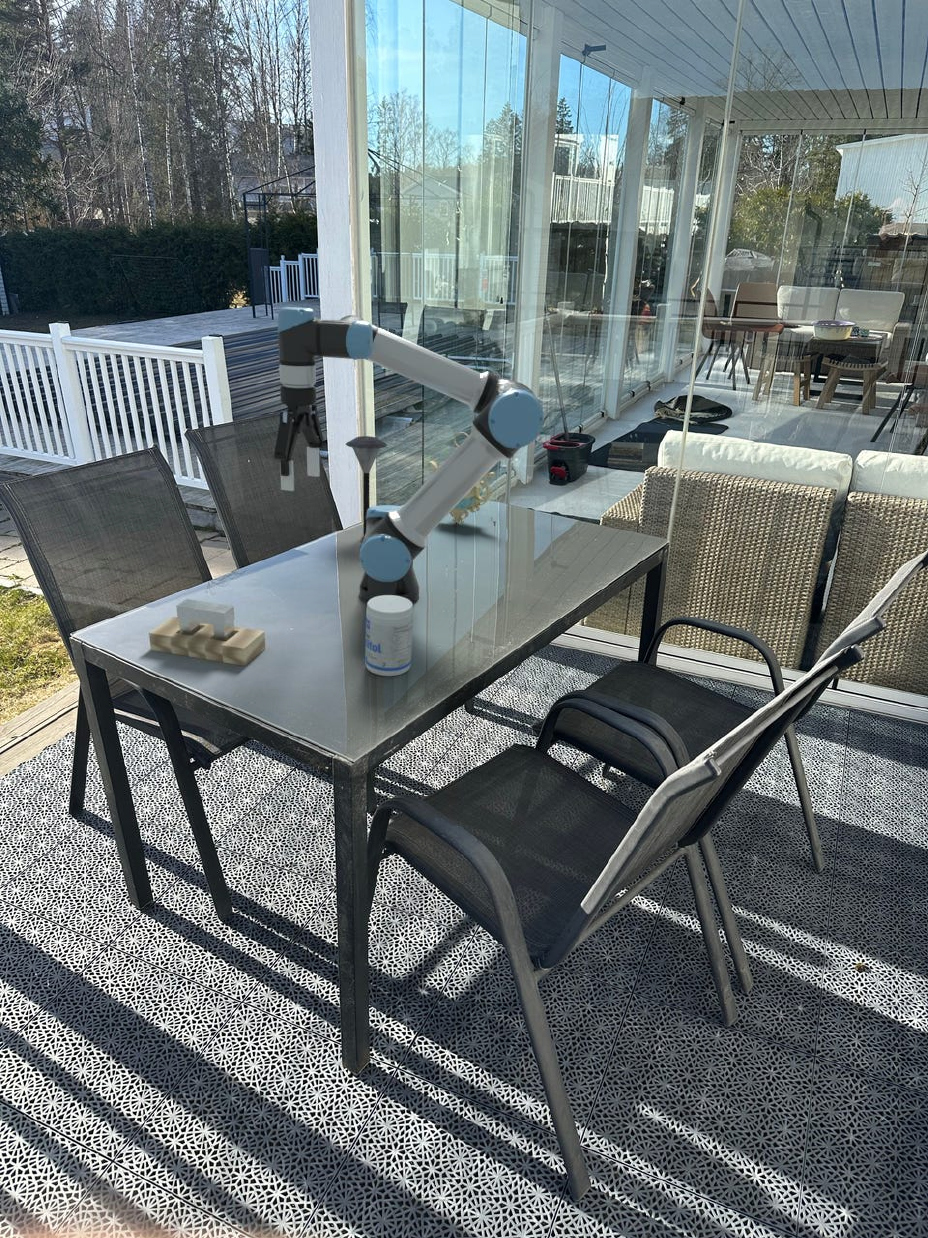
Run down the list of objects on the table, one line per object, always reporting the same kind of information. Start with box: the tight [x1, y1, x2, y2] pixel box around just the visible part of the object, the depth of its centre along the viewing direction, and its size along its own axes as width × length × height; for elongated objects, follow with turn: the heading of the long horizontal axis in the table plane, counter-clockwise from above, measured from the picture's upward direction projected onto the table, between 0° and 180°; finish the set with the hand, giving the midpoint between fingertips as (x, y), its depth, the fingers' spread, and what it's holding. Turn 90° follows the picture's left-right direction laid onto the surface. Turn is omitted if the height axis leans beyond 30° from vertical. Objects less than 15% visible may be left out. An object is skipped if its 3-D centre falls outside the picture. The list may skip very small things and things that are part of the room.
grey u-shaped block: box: [175, 598, 235, 641], centre depth 174 cm, size 11×4×10 cm, turn 76°
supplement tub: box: [364, 595, 414, 677], centre depth 169 cm, size 10×10×15 cm
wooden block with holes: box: [148, 616, 266, 667], centre depth 175 cm, size 22×9×4 cm, turn 76°
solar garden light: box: [345, 435, 388, 538], centre depth 244 cm, size 12×12×30 cm
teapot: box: [426, 431, 496, 525], centre depth 260 cm, size 24×12×30 cm, turn 60°
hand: (301, 482), depth 183 cm, fingers open, 13 cm apart
